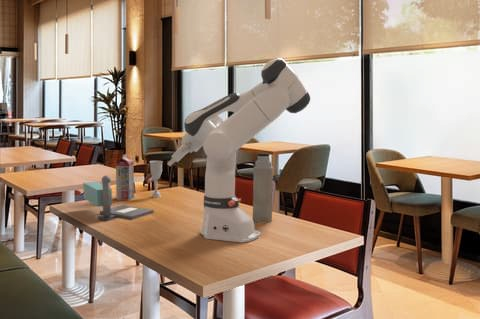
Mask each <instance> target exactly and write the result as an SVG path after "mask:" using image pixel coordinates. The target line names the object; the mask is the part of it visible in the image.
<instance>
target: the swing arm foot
mask: <svg viewBox="0 0 480 319" xmlns="http://www.w3.org/2000/svg"><path fill="white" fill-rule="evenodd" d="M115 219H117V217H116V216H115V215H111V216H109V217H104V216H103V214H101V215H98V216H97V220H99V221H100V220H101V221H104V222H109V221H112V220H115Z"/></svg>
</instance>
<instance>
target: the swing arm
mask: <svg viewBox="0 0 480 319" xmlns="http://www.w3.org/2000/svg"><path fill="white" fill-rule="evenodd" d="M111 181H112V179H111V177H110V175H104V176H102V177H101V182H98V181H88V182H87V181H86V182H82V185H83V187H82V189H83V192H82V193H83V199H84V200H86V201H88V202H89V203H90V204H93V205H94V206H96V207H102V210H103V214H102V215H103V216H104V217H109V216H111V208H112V205H113V202H112V201H113V197H112V195H113V194H112V193H113V192H112V188H111Z"/></svg>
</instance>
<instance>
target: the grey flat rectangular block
mask: <svg viewBox="0 0 480 319" xmlns="http://www.w3.org/2000/svg"><path fill="white" fill-rule="evenodd" d="M154 211H155V210H154V209H148V208H143V207H137V206H131V205H123V204H122V205H118V206H114V207H111V215H115V216H116V218H122V219H129V220H135V219H137V218H141V217H144V216H148V215H150V214H151V215H152V214H154V213H155V212H154ZM99 215H103V209H102V210H100V211H99Z"/></svg>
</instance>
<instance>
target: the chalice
mask: <svg viewBox="0 0 480 319" xmlns="http://www.w3.org/2000/svg"><path fill="white" fill-rule="evenodd" d="M163 162H164V161H163V160H150V161H149V165H150V174H151V177H152V179H153V180H155V183H154V185H155V187H154V189H155V191H153V192H152V194H151V198H155V199H157V198H162V195H161V193H160V191H158V188H159V187H158V180H160V178H161V175H162V172H163Z"/></svg>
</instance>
